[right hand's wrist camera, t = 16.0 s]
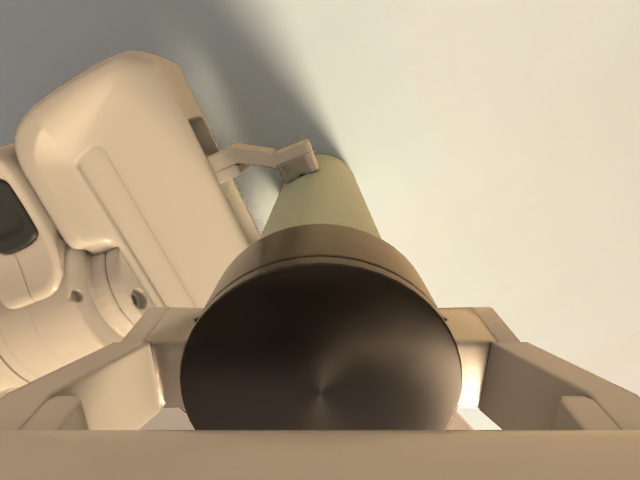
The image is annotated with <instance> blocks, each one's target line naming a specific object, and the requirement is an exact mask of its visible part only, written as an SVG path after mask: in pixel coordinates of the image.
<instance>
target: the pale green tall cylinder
mask: <svg viewBox="0 0 640 480" xmlns="http://www.w3.org/2000/svg"><path fill="white" fill-rule="evenodd" d="M315 156H316V159H317V161H318V164H319V169H318V170H317V171H315V172H313V173H311V174H307V175H304V174H300V176H299V178H297V179H295V180H293V181H290V182H288V183H285V181H284V184H283V186H282V188H281V191H280V193H279V195H278V198H277V200H276V202H275V205H274V207H273V209H272V212H271V214H270V216H269V219H268V221H267V223H266V226H265V228H264V230H263V233H262V235H261V237H260V239H261V238H264V237H266V236H268V235H270V234H272V233H274V232H277V231H280V230H283V229H286V228H290V227H295V226H300V225H307V224H335V225H341V226H347V227H352V228H355V229H358V230H361V231H365V232H367V233H370V234H372V235H374V236H376V237H378V238H380V239H381V237H380V235H379V233H378V230H377V228H376V226H375V223H374V221H373V219H372V216H371V214H370V212H369V210H368V207H367V205H366V203H365V200H364V198H363V196H362V194H361V191H360V189H359V187H358V184H357V182H356V180H355V178H354V175H353V173H352V171H351V170H350V169H349V167H348V166H347V165H346V164H345V163H344V162H342V161H341V160H339V159H338V158H336V157H333V156H330V155H326V154H315Z"/></svg>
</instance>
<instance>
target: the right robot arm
mask: <svg viewBox="0 0 640 480" xmlns="http://www.w3.org/2000/svg"><path fill="white" fill-rule="evenodd" d="M203 309H204V308H189V307H151V308H148V310H147V311H146V312H145V313H144V314H143V316H142V317H141V318H140V319H139V320H138V322H137V323H136V324H135V325H134V326H133V328H132V329H131V330H130V331H129V332H128V334H127V335H126V336H125V337H124V338H123V340H122V341H121V342H114V343H112V344H109V345H107V346H105V347H103V348H101V349H99V350H97V351H95V352H93V353H91V354H89V355H86V356H84V357H82V358H80V359H78V360H76V361H74V362H72V363H70V364H68V365H65V366H63V367H61V368H59V369H57V370H55V371H53V372H51V373H49V374H47V375H45V376H42V377H40V378H38V379H36V380H34V381H32V382H30V383H28V384H26V385H24V386H21V387H19V388H17V389H15V390H13V391H11V392H9V393H7V394H5V395H4V396H3V397H2V398H1V399H0V480H640V397H639V396H638V395H636V394H634V393H632V392H630V391H628V390H626V389H624V388H622V387H620V386H617V385H615V384H613V383H611V382H609V381H607V380H605V379H603V378H601V377H599V376H596V375H594V374H592V373H590V372H588V371H586V370H584V369H582V368H580V367H578V366H576V365H573V364H571V363H569V362H567V361H565V360H563V359H561V358H559V357H557V356H555V355H553V354H550V353H548V352H546V351H544V350H542V349H540V348H538V347H536V346H534V345H532V344H530V343H527V342H520V341H519V340H518V338H517V337H516V336H515V335H514V334H513V332H512V331H511V330H510V329H509V328H508V326H507V325H506V324H505V323H504V322H503V321H502V319H501V318H500V317H499V316H498V315H497V313H496V312H495V311H494V310H493V309H492V308H490V307H462V308H438V309H439V311H440V313H441V314H442V316H443V318H444V320H445V322H446V323H447V325H448V327H449V329H450V330H451V333H452V335H453V337H454V339H455V342H456V344H457V347H458V351H459V354H460V358H461V365H462V389H461V395H460V399H459V403H458V407H469V408H479V410H481V411H482V412H483V413H484V414H485V415H486V416H488V417H489V418H490V419H491V420H492V421H493V422H494V423H496V424H497V425H498V426H499V427H500V428H501V429H503V430H139V429H140V428H141V427H142V426H143V425H144V424H146V423H147V422H148V421H149V420H150V419H151V418H152V417H154V416H155V415H156V414H157V413H158V412H159V411H161V408H172V407H184V404H183V400H182V396H181V391H180V379H179V375H180V362H181V358H182V354H183V350H184V346H185V344H186V342H187V339H188V337H189V335H190V332H191V330H192V329H193V327H194V325H195V323H196V322H197V320H198V318H199V316H200V314H201V312H202V310H203Z"/></svg>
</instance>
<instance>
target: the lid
mask: <svg viewBox="0 0 640 480" xmlns="http://www.w3.org/2000/svg"><path fill="white" fill-rule="evenodd" d="M179 379H180V391H181V396H182V400H183V404H184V408H185V410H186V413H187V415H188V417H189V420H190V422H191V423H192V425H193V427H194V428H195V430H447V428H448V426H449V425H450V423H451V421H452V419H453V417H454V414H455V412H456V409H457V407H458V403H459V399H460V395H461V389H462V365H461V358H460V354H459V351H458V347H457V344H456V342H455V339H454V337H453V335H452V333H451V330H450V329H449V327H448V325H447V323H446V322H445V320H444V318H443V316H442V314H441V313H440V311H439V309H438V307H437V306H436V304H435V302H434V300H433V298H432V297H431V295H430V293H429V291H428V290H427V288H426V286H425V284H424V283H423V281H422V279H421V277H420V276H419V274H418V273H417V271H416V270H415V268H414V267H413V266H412V264H411V263H410V262H409V261H408V260H407V259H406V258H405V256H403V255H402V254H401V253H400V252H399V251H398V250H396V249H395V248H394V247H393V246H391V245H390V244H388V243H387V242H385V241H383V240H382V239H380V238H378V237H376V236H374V235H372V234H370V233H367V232H365V231H361V230H358V229H355V228H352V227H347V226H341V225H335V224H307V225H300V226H295V227H290V228H286V229H283V230H280V231H277V232H274V233H272V234H270V235H268V236H266V237H264V238H261V239H259V240H258V241H256V242H255V243H253V244H252V245H250V246H249V247H247V248H246V249H245V250H244V251H243V252H242V253H240V254H239V255H238V256H237V257H236V258H235V259H234V260H233V261H232V263H231V264H230V265H229V266H228V267H227V269H226V270H225V272H224V273H223V275H222V277H221V278H220V280H219V282H218V283H217V285H216V287H215V289H214V291H213V292H212V294H211V296H210V298H209V300H208V301H207V303H206V305H205V307H204V309H203V310H202V312H201V314H200V316H199V318H198V320H197V322H196V323H195V325H194V327H193V329H192V330H191V332H190V335H189V337H188V339H187V342H186V344H185V346H184V350H183V354H182V358H181V362H180V375H179Z"/></svg>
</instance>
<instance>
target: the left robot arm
mask: <svg viewBox="0 0 640 480" xmlns="http://www.w3.org/2000/svg"><path fill="white" fill-rule="evenodd" d="M248 165H254V166H262V167H270V168H279V170H280V173H281V175H282V177H283V179H284V181H285V183H288V182H290V181H293V180H295V179H297V178H299V176H300V174H304V175H307V174H311V173H313V172H315V171H317V170H318V169H319V164H318V161H317V159H316V156H315V153H314V151H313V148H312V145H311V143H310V141H309V139H305V140H302V141H299V142H297V143H295V144H292V145H290V146H287V147H285V148H282V149H280V150H276V149H275V148H269V147H262V146H256V145H249V144H243V143H237V144H234V145H232V146H230V147H227V148H225V149H223V150H219V148H218V145H217V143H216V141H215V139H214V137H213V135H212V133H211V131H210V129H209V127H208V125H207V123H206V120H205V118H204V116H203V114H202V112H201V110H200V108H199V106H198V104H197V102H196V100H195V98H194V95H193V93H192V91H191V89H190V87H189V85H188V83H187V81H186V79H185V77H184V74H183V72H182V71H181V69H180V67H179V66H178V65H177V64H176V63H174V62H172V61H169V60H167V59H165V58H162V57H160V56H157V55H155V54H152V53H148V52H143V51H125V52H122V53H118V54H116V55H114V56H112V57H109V58H107V59H105V60H103V61H102V62H100V63H98V64H96V65H94V66H92V67H90V68H89V69H87V70H85V71H83V72H82V73H80V74H78V75H77V76H75V77H73V78H72V79H70V80H69V81H67V82H66V83H64V84H63V85H61V86H60V87H58V88H56V89H55V90H54V91H52V92H51V93H50V94H48V95H47V96H45V97H44V98H43V99H41V100H40V101H39V102H37V103H36V104H35V105H34V106H33V107H31V108H30V109H29V110H28V111H27V113H26V114H25V115H24V116H23V118H22V119H21V121H20V123H19V124H18V127H17V129H16V133H15V139H14V143H12V144H8V145H4V146H1V147H0V399H1V398H2V397H3V396H4V395H5V394H7V393H9V392H11V391H13V390H15V389H17V388H19V387H21V386H24V385H26V384H28V383H30V382H32V381H34V380H36V379H38V378H40V377H42V376H45V375H47V374H49V373H51V372H53V371H55V370H57V369H59V368H61V367H63V366H65V365H68V364H70V363H72V362H74V361H76V360H78V359H80V358H82V357H84V356H86V355H89V354H91V353H93V352H95V351H97V350H99V349H101V348H103V347H105V346H107V345H109V344H112V343H114V342H121V341H122V340H123V338H124V337H125V336H126V335H127V334H128V332H129V331H130V330H131V329H132V328H133V326H134V325H135V324H136V323H137V322H138V320H139V319H140V318H141V317H142V316H143V314H144V313H145V312H146V311H147V310H148V308H151V307H189V308H204V307H205V305H206V303H207V301H208V300H209V298H210V296H211V294H212V292H213V291H214V289H215V287H216V285H217V283H218V282H219V280H220V278H221V277H222V275H223V273H224V272H225V270H226V269H227V267H228V266H229V265H230V264H231V263H232V261H233V260H234V259H235V258H236V257H237V256H238V255H239V254H240V253H242V252H243V251H244V250H245V249H246V248H247V247H249V246H250V245H252V244H253V243H255V242H256V241H258V240H259V239H260V237H261V235H260V233H259V231H258V229H257V227H256V225H255V223H254V221H253V218H252V216H251V214H250V212H249V210H248V208H247V206H246V204H245V202H244V200H243V198H242V195H241V193H240V191H239V189H238V187H237V185H236V183H235V181H234V178H236V177H239V176H240V175H241V174H242V173H243V172H244V171H245V170H246V169H247V168H248ZM180 408H181V409H182V410H183V411H184V412H185V413H186V410H185V408H184V407H180Z"/></svg>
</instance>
